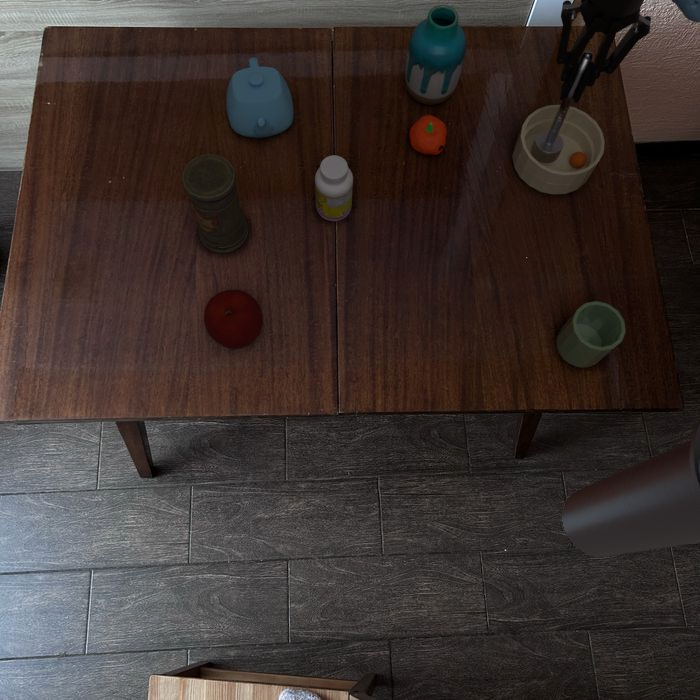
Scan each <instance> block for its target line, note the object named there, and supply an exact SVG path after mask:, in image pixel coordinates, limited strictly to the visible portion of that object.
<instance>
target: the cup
mask: <svg viewBox="0 0 700 700" xmlns="http://www.w3.org/2000/svg"><path fill="white" fill-rule="evenodd" d="M626 332H627V331H626V323H625V320H624V317H623V316H622V314H621V313H620V312H619V310H618V309H616V308H615V307H613V305H611V304H609V303H606V302H602V301H598V300H595V301H590V302H585V303H584V304H582V305H581V306H580V307H578V308H577V309H576V310H575V312H574V313H572V315H571V316H570V317H569V318H568V319H567V321H566V322H564V324H563V325H562V326H561V328H560V330H559V332H558V333H557V336H556V342H555V343H556V349H557V352H558V353H559V355H560V357H561V358H562V359H563V360H564V361H565V362H566V363H567V364H569V365H570V366H574V367H575V368H591V367H593V366H596V365H597V364H598V363H599V362H601V361H602V360H603V359H604V358H605V357H606V356H608V355H609V354H610V353H611V352H612V351H613V350H614V349H615V348H617V346H619V345H620V344H621V343H622V342H623V340H624V338H625V334H626Z"/></svg>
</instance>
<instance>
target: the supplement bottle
mask: <svg viewBox="0 0 700 700" xmlns="http://www.w3.org/2000/svg"><path fill="white" fill-rule="evenodd" d="M319 166H320V167H318V169H317V170H316V173H315V175H314V194H315V195H314V197H315V208H316V211H317V214H319V215H320V217H321V218H323V219H324V220H326V221H330V222H338V221H341V220H343V219H345V218H346V217H347V216H348V215H350V213H351V212H352V211H351V210H352V207H353V191H354V190H353V188H354V175H353V172H352V171H351V168H349V165H348V162H347V161H346V159H345V158H344V157H342V156H340V155H335V154H333V155H329V156H326V157H324V159H322V161H321V162H320V165H319Z"/></svg>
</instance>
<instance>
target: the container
mask: <svg viewBox="0 0 700 700" xmlns="http://www.w3.org/2000/svg"><path fill="white" fill-rule="evenodd" d="M236 181H237V173H236V169H235V167H234V166H233V164H232V163H231V162H230V161H229V160H228V159H226V158H225V157H223V156H221V155H217V154H212V153H211V154H210V153H208V154H207V153H206V154H202V155H201V154H200V155H198V156H196V157H194V158H192V159H191V160H190V161H188V163H187V164H186V165H185V167H184V169H183V171H182V175H181V183H182V188H183V190H184V191H185V192H186V193H187V195H188V198H189V202H191V204H192V208H193V210H194V213H195V216H196V223H197V227H198V228H197V229H198V236H199V239H200V241H201V243H202V245H203V246H204V247H205V248H207V249H208V250H209V251H211V252H213V253H216V254H222V255H223V254H230V253H231V254H232V253H233V252H235V251H237V250H240V248H241V247H243V246H244V244H245V242H246V241H247V238H248V236H249V223H248V220H247V219H246V216H245V214H244V213H243V212H244V211H243V209H242V207H241V204H240V199H239V195H238V186H237V183H236Z"/></svg>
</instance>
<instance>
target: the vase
mask: <svg viewBox="0 0 700 700" xmlns="http://www.w3.org/2000/svg"><path fill="white" fill-rule="evenodd" d="M466 39H467V37H466V34H465V31H464V30H463V28H462V27H461V25H460V24H459V14H458V12H457V10H456V9H455V8H453V7H452V6H450V5H447V4H439V5H435V6H433V7H432V8H431V9H430V10H429V11H428V14H427V17H426V19H425V18H424V19H423V20H422V21H420V22H419V23H418V24H417V25H416V26H415V27H414V30H413V31H412V33H411V37H410V39H409V42H408V47H407V54H406V59H405V70H404V80H405V86H406V89H407V92H408V93H409V95H410V97H411V98H413V99H414V100H415V101H416V102H418V103H420V104H423V105H428V106H433V105H434V106H435V105H439V104H442V103H444V102H445V101H447V100H448V99H449V98H450V97H451V96H453V94H454V92H455V91H456V88H457V86H458V83H459V81H460V78H461V74H462V71H463V66H464V63H465V57H466V52H467V40H466Z"/></svg>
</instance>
